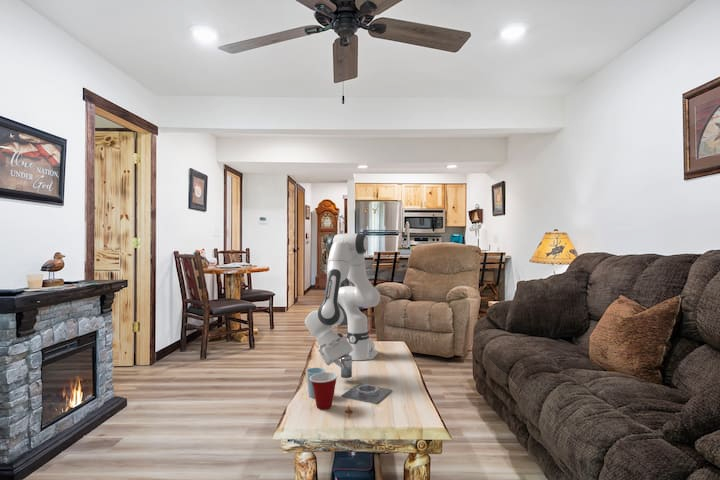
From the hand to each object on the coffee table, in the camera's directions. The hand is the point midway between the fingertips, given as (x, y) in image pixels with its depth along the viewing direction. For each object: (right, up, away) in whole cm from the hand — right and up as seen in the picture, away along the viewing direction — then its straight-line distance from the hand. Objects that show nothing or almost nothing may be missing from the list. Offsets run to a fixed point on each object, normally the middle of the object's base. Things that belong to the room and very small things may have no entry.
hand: (347, 365), depth 183 cm
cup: (-13, -7, -17) cm, 22 cm away
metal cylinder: (-1, -5, 0) cm, 5 cm away
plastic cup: (-8, -7, -28) cm, 30 cm away
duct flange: (+9, -7, -14) cm, 18 cm away
